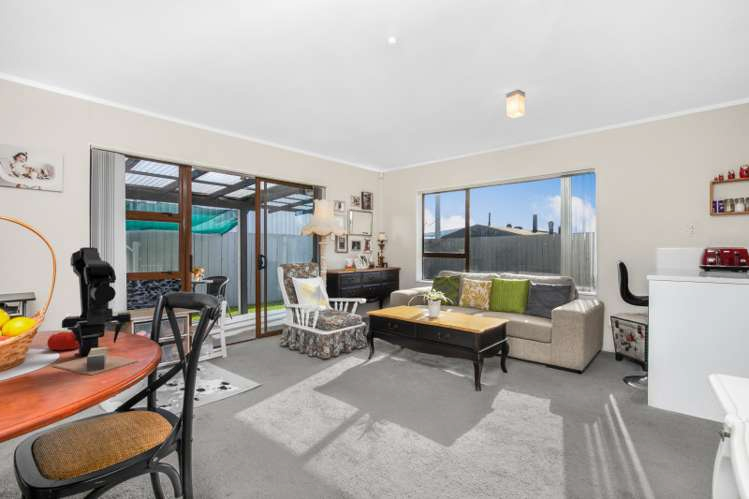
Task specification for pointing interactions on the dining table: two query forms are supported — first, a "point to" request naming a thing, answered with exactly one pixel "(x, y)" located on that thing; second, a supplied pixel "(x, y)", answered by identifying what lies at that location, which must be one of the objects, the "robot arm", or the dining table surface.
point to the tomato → (62, 341)
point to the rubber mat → (81, 367)
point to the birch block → (97, 359)
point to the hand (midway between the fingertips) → (98, 344)
